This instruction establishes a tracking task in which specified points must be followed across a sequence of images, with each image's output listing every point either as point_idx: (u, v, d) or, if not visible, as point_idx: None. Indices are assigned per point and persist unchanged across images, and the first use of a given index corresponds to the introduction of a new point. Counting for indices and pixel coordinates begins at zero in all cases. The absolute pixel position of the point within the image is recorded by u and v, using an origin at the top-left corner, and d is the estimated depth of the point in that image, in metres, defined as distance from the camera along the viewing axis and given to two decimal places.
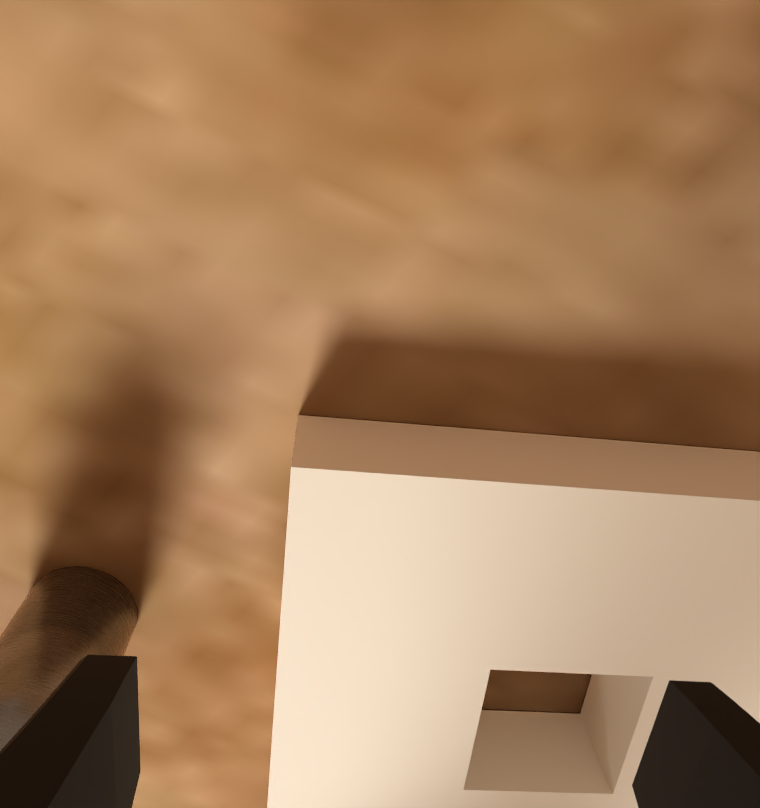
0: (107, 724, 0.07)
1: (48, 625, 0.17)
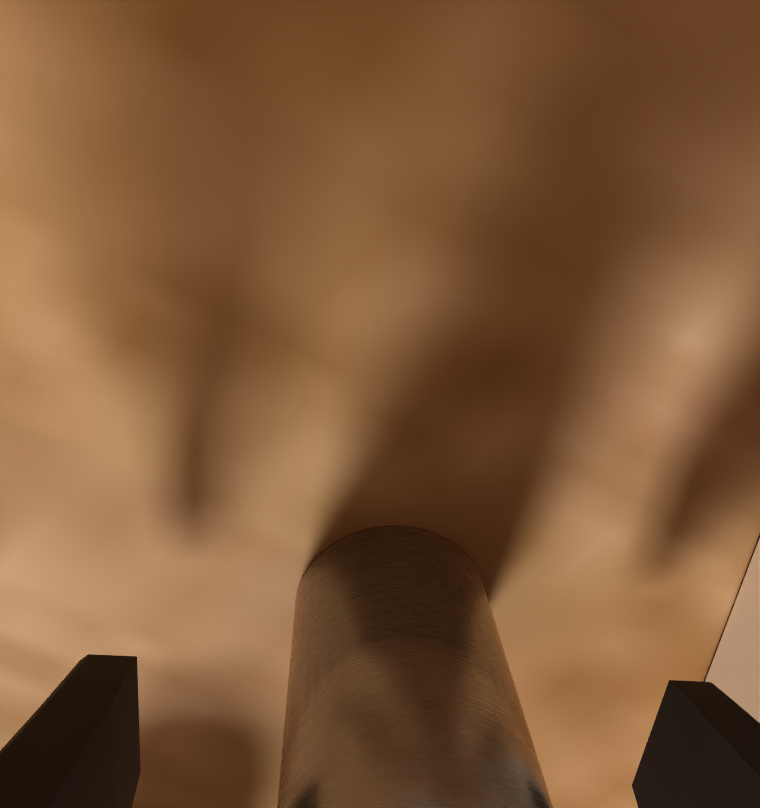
0: (107, 724, 0.07)
1: (423, 634, 0.09)
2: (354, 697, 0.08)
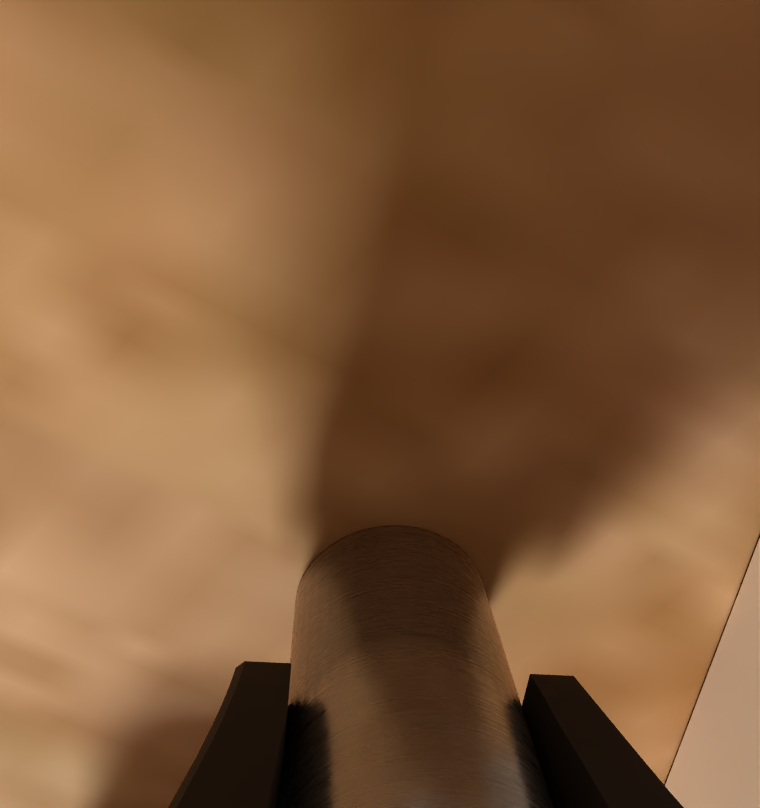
0: (284, 730, 0.08)
1: (423, 633, 0.09)
2: (355, 696, 0.08)
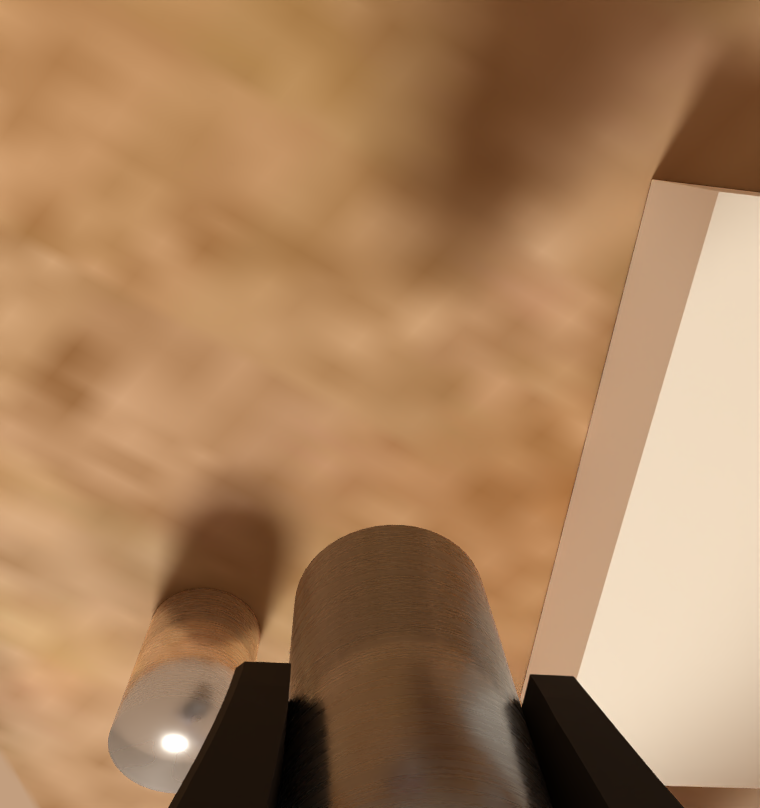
0: (284, 730, 0.08)
1: (423, 632, 0.09)
2: (354, 695, 0.08)
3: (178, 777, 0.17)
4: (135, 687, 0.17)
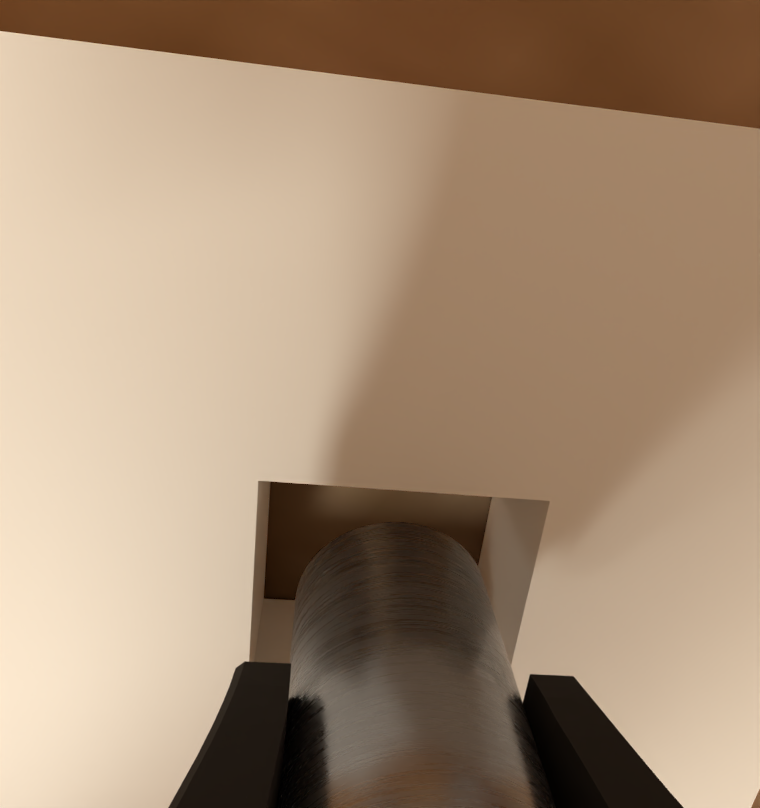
0: (284, 730, 0.08)
1: (423, 628, 0.09)
2: (355, 691, 0.08)
3: None
4: None
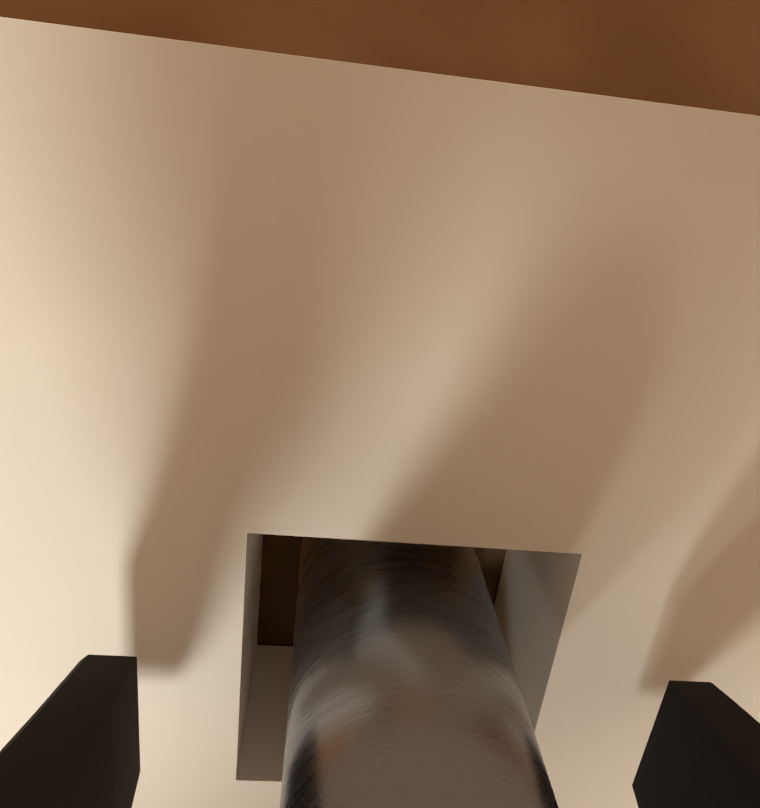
0: (107, 724, 0.07)
1: (414, 559, 0.10)
2: (354, 606, 0.09)
3: None
4: None
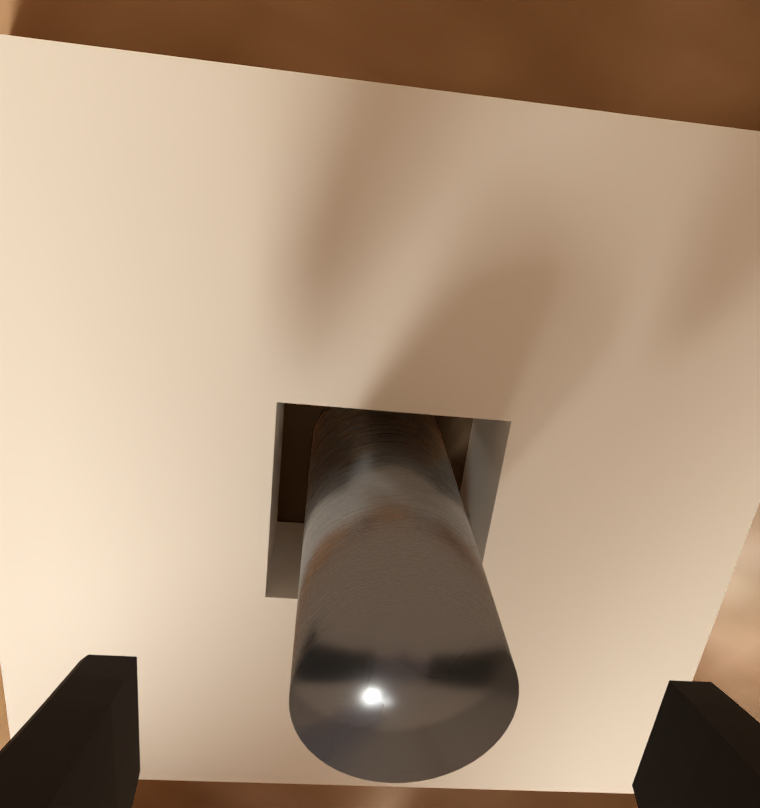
0: (107, 724, 0.07)
1: (393, 429, 0.14)
2: (351, 454, 0.13)
3: None
4: None
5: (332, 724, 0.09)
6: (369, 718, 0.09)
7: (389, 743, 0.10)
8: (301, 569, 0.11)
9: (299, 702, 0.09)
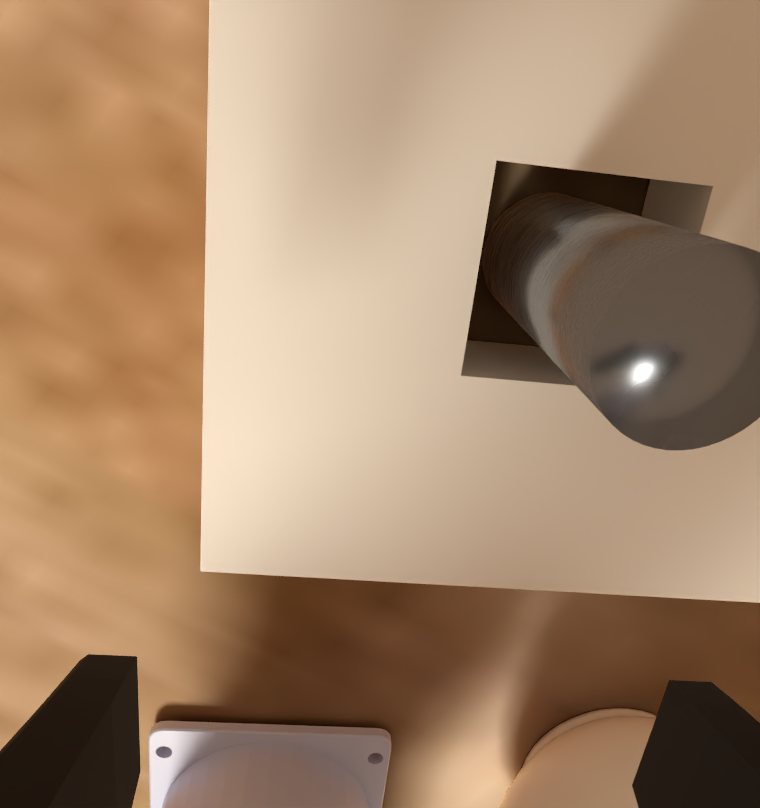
0: (107, 724, 0.07)
1: (593, 203, 0.15)
2: (565, 214, 0.14)
3: None
4: None
5: (626, 377, 0.10)
6: (661, 371, 0.10)
7: (674, 402, 0.10)
8: (549, 287, 0.12)
9: (601, 349, 0.10)
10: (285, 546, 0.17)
